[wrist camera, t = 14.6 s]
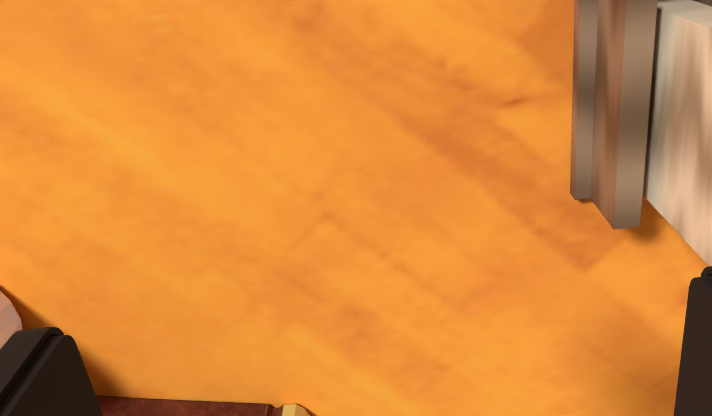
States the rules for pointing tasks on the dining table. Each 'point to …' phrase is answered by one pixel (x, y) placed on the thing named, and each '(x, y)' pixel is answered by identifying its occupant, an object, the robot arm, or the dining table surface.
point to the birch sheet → (682, 122)
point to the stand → (612, 104)
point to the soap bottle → (8, 319)
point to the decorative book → (191, 408)
